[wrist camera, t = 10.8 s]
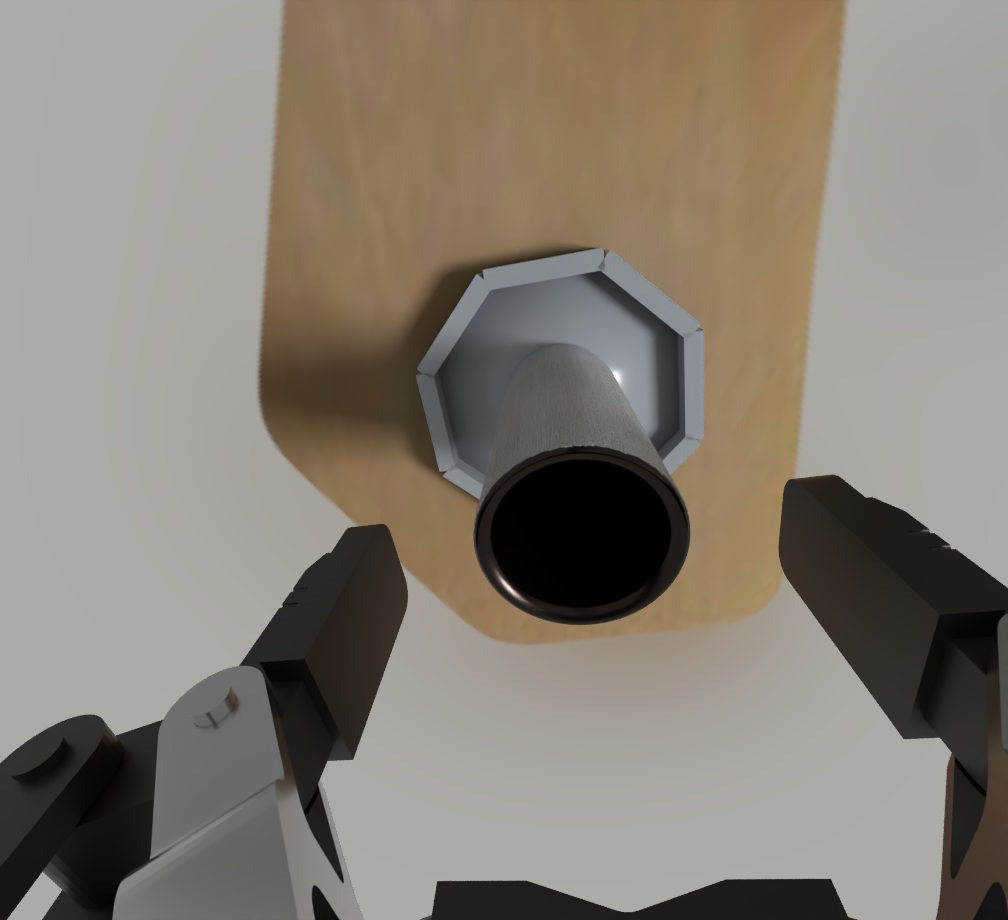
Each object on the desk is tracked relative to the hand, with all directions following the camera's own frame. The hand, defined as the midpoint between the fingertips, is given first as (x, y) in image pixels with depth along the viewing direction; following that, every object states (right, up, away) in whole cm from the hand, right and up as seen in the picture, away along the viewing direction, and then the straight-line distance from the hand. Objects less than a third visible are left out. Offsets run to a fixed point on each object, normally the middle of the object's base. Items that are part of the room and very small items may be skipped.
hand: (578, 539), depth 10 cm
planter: (+1, +4, +10) cm, 11 cm away
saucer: (+1, +4, +10) cm, 11 cm away
